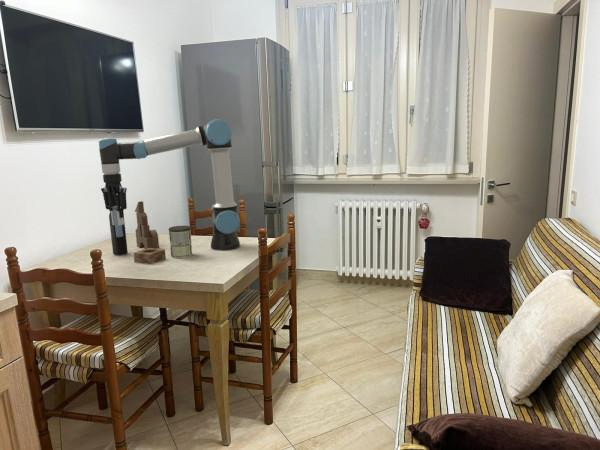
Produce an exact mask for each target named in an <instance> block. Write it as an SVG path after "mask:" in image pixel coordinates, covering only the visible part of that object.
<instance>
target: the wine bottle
mask: <svg viewBox="0 0 600 450" xmlns="http://www.w3.org/2000/svg"><path fill="white" fill-rule="evenodd" d="M115 206H117V204H116V200H115ZM123 219H124V220H125V216H124V217H123ZM108 220H109V229H110V239H111V247H112V255H116V256H121V255H122V254H123V255H125V254H126V253H127V254H128V253H129V252H128V251H129V250H128V242H127V234H126V233H127V232H126V225H125V224H126V223H125V221H124V224H123V225H122V229H123V236H122V237H116V230H115V225H112V218H111V215H110V213H109V214H108ZM127 254H126V255H127Z"/></svg>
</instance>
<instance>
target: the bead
mask: <svg viewBox="0 0 600 450" xmlns="http://www.w3.org/2000/svg"><path fill="white" fill-rule="evenodd" d="M166 257H167V256H166V249H163V248H157V249H155V248H147V249H145V248H144V249H141V250H138V251H135V252H133V260H134V261H133V262H134V263H137V264H138V263H140V264H147V265H148V264H149V265H152V264H155V263H158V262H160V261H162V260H165V259H167V258H166Z"/></svg>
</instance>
